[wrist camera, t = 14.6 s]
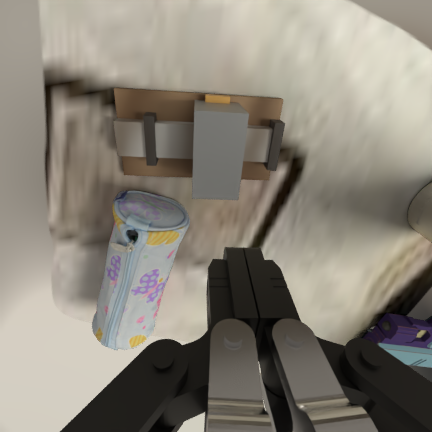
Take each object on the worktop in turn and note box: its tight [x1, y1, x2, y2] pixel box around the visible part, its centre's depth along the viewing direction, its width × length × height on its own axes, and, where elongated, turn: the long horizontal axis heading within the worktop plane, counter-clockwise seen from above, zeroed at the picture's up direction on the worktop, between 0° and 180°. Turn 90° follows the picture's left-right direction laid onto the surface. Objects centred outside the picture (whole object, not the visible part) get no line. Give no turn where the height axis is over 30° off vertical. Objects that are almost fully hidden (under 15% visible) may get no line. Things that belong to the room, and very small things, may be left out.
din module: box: [192, 94, 249, 200], centre depth 26 cm, size 4×9×6 cm, turn 176°
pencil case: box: [92, 191, 190, 350], centre depth 33 cm, size 21×9×10 cm, turn 161°
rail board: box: [113, 88, 285, 180], centre depth 28 cm, size 17×9×3 cm, turn 86°
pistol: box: [361, 313, 432, 368], centre depth 49 cm, size 4×16×15 cm
